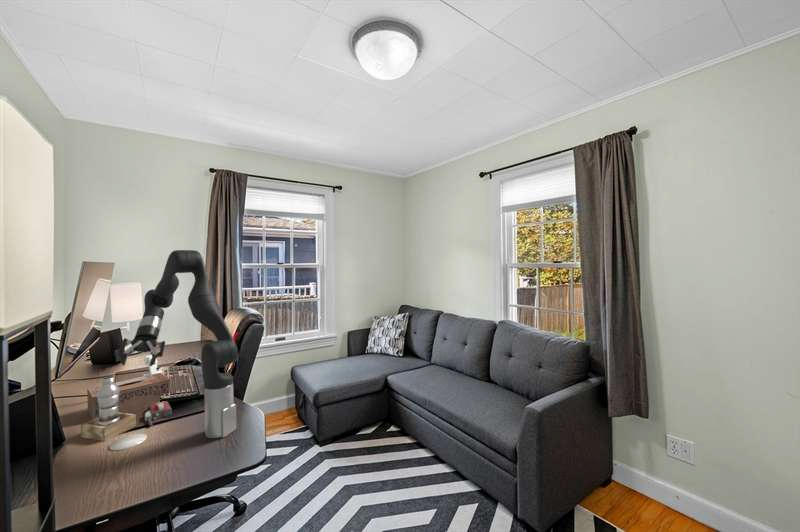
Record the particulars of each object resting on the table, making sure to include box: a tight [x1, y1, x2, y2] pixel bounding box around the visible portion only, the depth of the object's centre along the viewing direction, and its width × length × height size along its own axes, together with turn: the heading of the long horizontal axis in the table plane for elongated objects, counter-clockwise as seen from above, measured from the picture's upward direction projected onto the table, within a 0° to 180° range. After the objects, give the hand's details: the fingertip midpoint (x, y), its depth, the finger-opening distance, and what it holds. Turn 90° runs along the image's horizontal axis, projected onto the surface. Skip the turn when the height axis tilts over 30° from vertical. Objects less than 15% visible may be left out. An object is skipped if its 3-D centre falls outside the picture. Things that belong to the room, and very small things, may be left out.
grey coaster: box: [109, 433, 148, 451], centre depth 114 cm, size 10×10×1 cm
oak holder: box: [80, 412, 137, 442], centre depth 121 cm, size 12×11×4 cm
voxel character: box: [142, 354, 163, 377], centre depth 166 cm, size 7×12×15 cm
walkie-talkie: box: [144, 401, 173, 427], centre depth 133 cm, size 9×4×20 cm
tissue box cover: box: [86, 372, 171, 420], centre depth 144 cm, size 26×14×10 cm, turn 140°
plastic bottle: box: [97, 375, 120, 427], centre depth 121 cm, size 6×7×20 cm
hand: (137, 364), depth 127 cm, fingers open, 8 cm apart
